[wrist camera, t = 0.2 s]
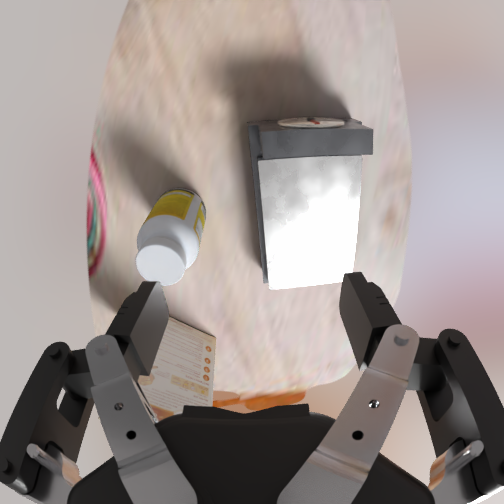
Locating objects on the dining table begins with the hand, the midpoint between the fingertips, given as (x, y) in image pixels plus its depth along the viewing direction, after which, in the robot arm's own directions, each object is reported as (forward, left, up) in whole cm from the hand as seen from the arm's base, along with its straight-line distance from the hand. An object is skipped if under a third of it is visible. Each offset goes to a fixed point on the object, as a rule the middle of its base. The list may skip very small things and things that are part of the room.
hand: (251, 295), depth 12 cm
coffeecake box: (+31, -4, -23) cm, 39 cm away
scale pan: (+4, +9, -19) cm, 21 cm away
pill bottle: (+8, -6, -23) cm, 25 cm away
